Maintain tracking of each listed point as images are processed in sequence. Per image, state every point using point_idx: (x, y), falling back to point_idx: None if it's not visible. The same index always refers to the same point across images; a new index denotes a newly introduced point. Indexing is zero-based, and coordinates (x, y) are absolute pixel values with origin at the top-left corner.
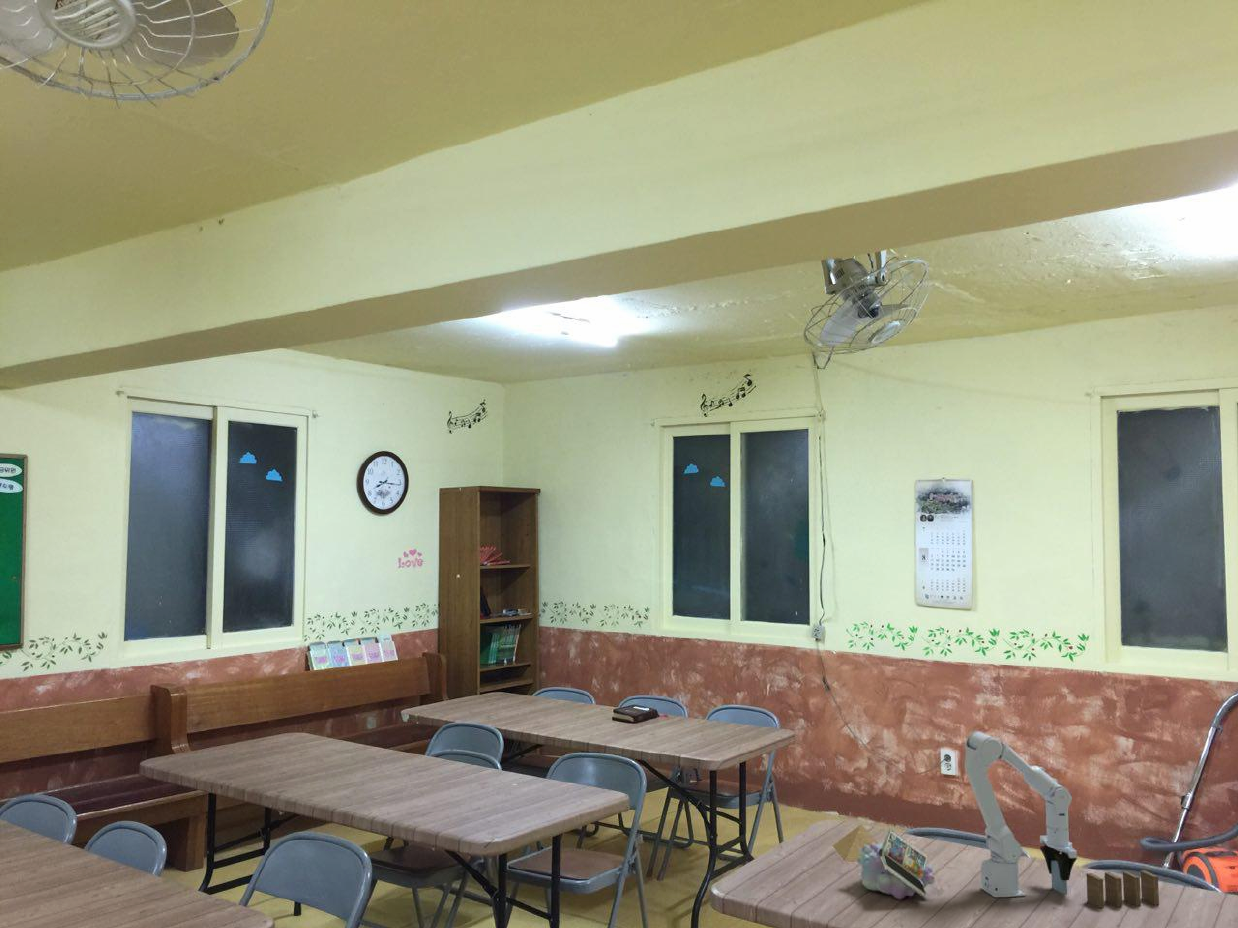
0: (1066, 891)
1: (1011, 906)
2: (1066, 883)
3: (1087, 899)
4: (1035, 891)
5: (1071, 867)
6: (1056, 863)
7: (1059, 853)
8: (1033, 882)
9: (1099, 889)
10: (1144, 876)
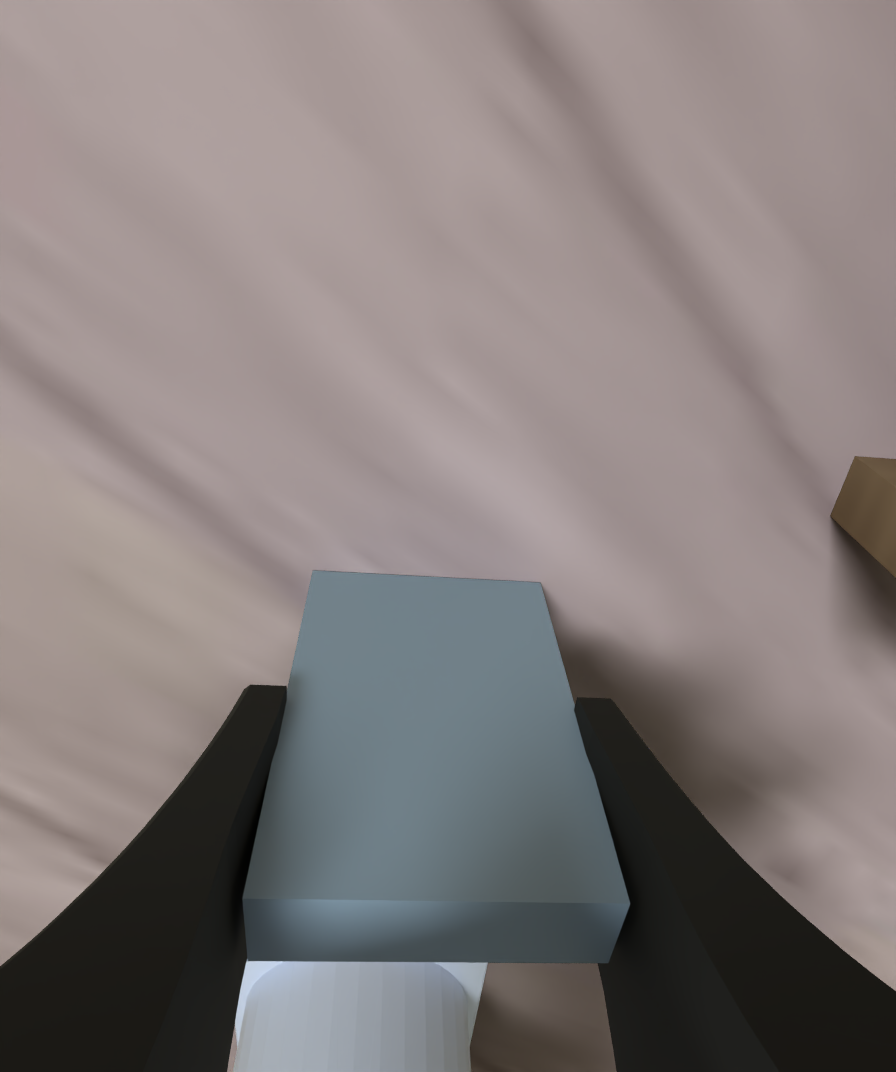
0: (542, 603)
1: None
2: (561, 667)
3: (841, 524)
4: None
5: (745, 872)
6: (423, 952)
7: (174, 989)
8: (112, 703)
9: None
10: None
